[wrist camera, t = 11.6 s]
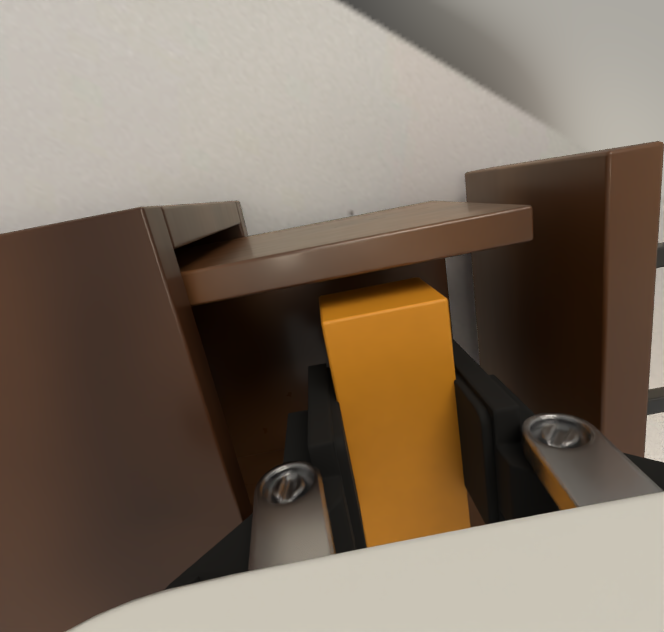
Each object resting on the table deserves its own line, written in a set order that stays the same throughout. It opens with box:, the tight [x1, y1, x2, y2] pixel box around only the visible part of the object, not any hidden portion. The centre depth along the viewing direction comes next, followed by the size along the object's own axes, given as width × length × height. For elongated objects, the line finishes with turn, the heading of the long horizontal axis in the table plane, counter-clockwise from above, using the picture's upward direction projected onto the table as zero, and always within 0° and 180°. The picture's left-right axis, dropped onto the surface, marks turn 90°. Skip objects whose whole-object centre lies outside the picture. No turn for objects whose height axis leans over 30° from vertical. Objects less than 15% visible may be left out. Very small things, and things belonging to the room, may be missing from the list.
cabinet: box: [0, 201, 253, 632], centre depth 14 cm, size 15×13×10 cm
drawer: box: [174, 141, 664, 527], centre depth 13 cm, size 18×12×8 cm, turn 101°
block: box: [319, 277, 471, 548], centre depth 11 cm, size 7×3×2 cm, turn 11°
